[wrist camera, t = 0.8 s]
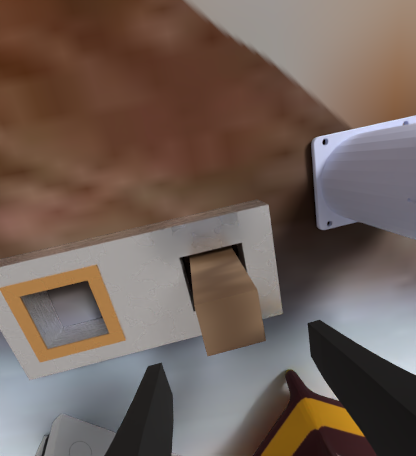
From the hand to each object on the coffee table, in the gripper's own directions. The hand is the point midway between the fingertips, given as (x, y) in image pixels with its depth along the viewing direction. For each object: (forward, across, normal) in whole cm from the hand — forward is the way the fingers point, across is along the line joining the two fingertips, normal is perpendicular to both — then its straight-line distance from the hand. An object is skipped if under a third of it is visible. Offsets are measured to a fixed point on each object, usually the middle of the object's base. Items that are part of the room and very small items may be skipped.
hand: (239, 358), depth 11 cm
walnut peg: (+10, 0, 0) cm, 10 cm away
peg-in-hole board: (+10, +6, 0) cm, 12 cm away
